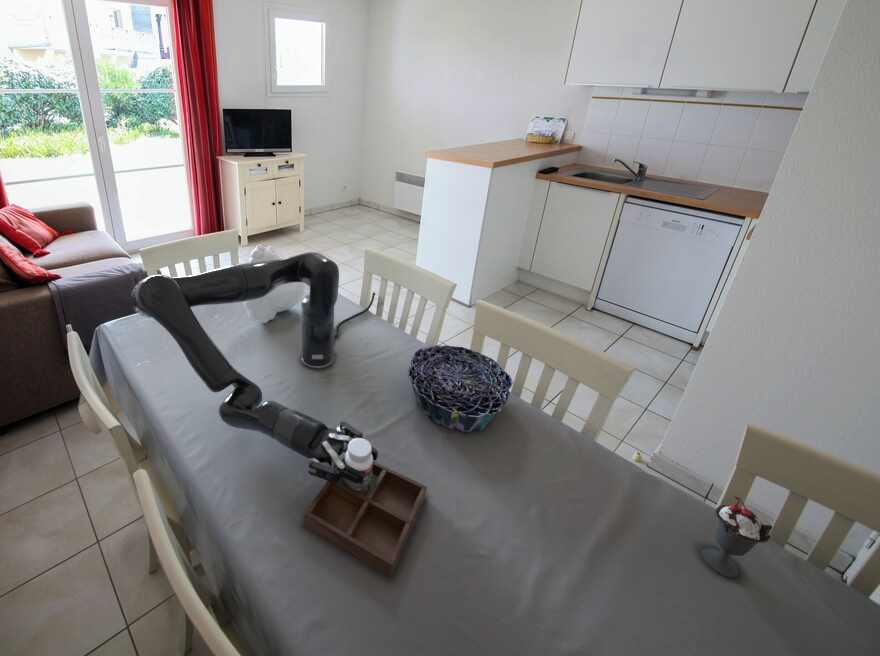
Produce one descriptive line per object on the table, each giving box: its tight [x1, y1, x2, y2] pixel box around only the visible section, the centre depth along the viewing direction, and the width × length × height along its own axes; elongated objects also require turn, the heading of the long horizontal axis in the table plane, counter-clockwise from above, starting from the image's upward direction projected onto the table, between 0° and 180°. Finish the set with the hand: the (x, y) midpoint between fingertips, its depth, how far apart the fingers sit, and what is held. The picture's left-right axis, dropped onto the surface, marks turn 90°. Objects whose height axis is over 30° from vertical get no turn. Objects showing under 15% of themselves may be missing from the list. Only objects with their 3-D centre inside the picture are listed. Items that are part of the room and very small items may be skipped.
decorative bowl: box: [407, 344, 514, 433], centre depth 110 cm, size 26×28×10 cm
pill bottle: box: [343, 438, 374, 494], centre depth 86 cm, size 6×6×10 cm
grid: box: [304, 455, 428, 579], centre depth 82 cm, size 17×17×3 cm
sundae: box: [701, 496, 773, 578], centre depth 72 cm, size 7×7×15 cm
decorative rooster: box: [242, 243, 306, 324], centre depth 148 cm, size 25×16×25 cm
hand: (369, 467), depth 84 cm, fingers closed on pill bottle, 5 cm apart
